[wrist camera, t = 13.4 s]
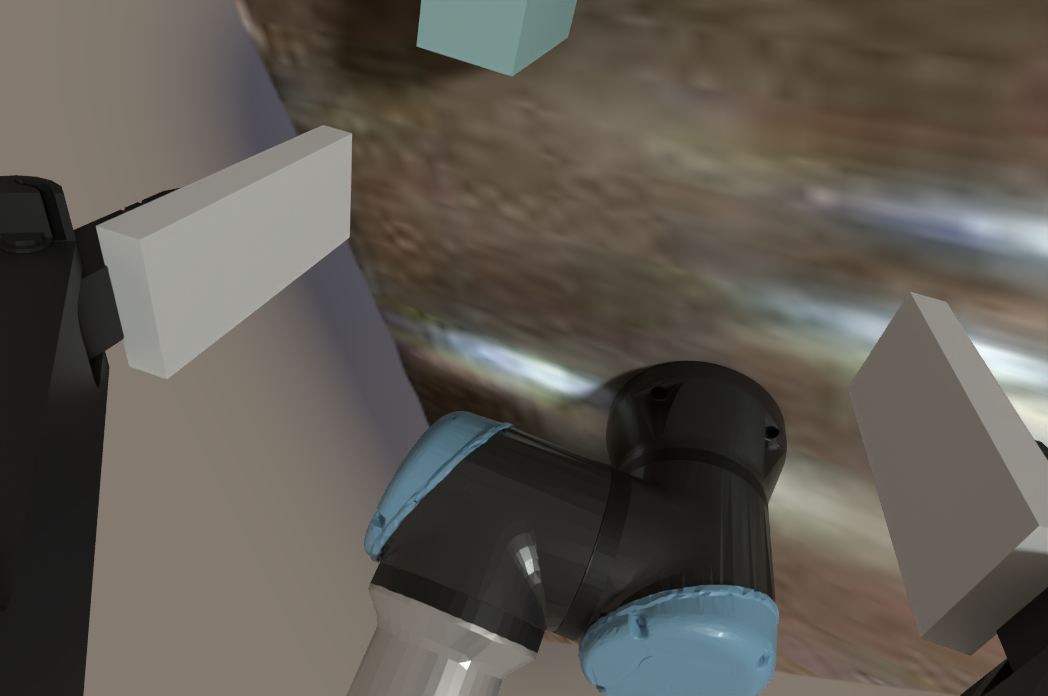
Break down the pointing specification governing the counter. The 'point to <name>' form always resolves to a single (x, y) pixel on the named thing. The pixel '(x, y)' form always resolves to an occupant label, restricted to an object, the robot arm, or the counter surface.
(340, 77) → the counter surface
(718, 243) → the counter surface
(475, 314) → the counter surface
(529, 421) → the counter surface
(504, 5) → the rail
